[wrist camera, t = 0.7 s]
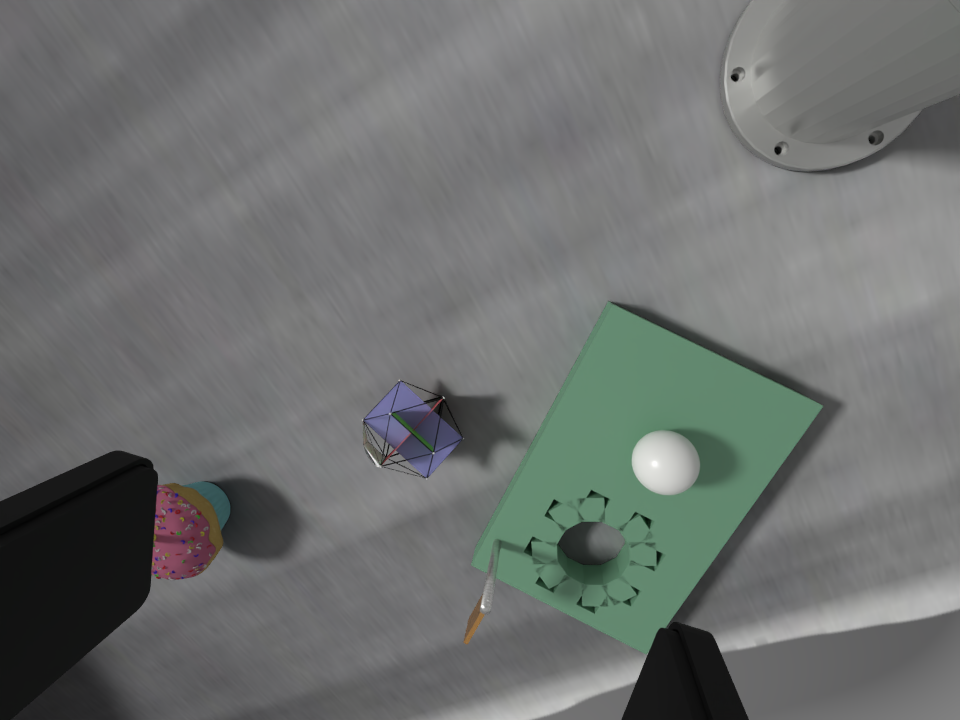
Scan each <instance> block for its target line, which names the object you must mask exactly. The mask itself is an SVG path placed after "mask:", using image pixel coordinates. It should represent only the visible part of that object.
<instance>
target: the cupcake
mask: <svg viewBox="0 0 960 720" xmlns="http://www.w3.org/2000/svg"><path fill="white" fill-rule="evenodd" d="M229 516H230V503H229V500H228V498H227V496H226V494H225V493H224V492H223V491H222V490H221V489H220V488H219V487H218V486H216V485H214V484H212V483H209V482H196V483H192V484H188V485H183V486H181V485H179V484H176V483H170V484H165V485H158V486H157V500H156V514H155V529H154V543H153V557H152V572H151V575H153V576H156V578H158V577H159V578H158V579H161V578H166V579H169V580H176V579H185V578H190V577H194V576H197V575H199V574H201V573H202V572H203V571H204V570H205V569H206V568H207V567H208V566H209V565H210V563H211V562H212V561H213V560H214V558H215V557H216V555H217V554H218V552H219V551H220V549H221V548H222V546H223V538H222V535H221V530H222V528H223V526H224V525H225V523H226V522H227V520H228V518H229Z"/></svg>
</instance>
